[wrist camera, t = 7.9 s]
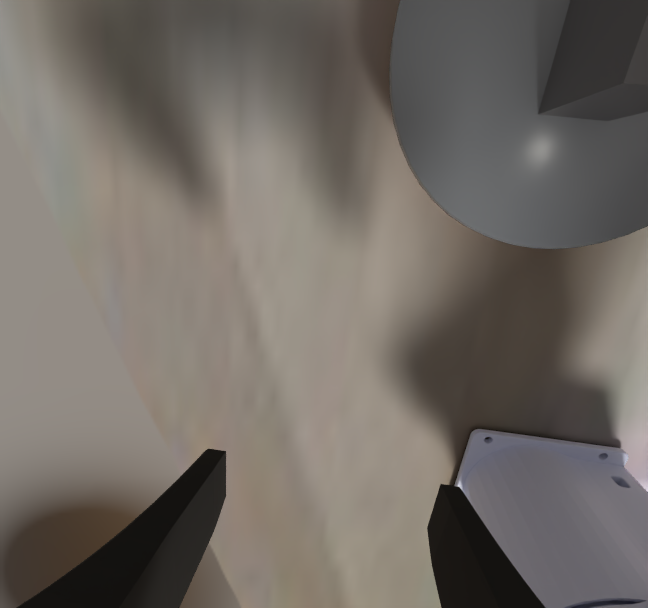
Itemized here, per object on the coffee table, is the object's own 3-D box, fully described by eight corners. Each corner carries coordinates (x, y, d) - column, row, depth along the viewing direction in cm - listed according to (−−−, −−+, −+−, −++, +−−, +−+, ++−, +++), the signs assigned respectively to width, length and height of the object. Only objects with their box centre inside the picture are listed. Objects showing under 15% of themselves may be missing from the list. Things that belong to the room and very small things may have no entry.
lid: (916, -210, 9) (1462, -590, 5) (686, 262, 14) (847, 301, 9) (429, -231, 10) (492, -584, 5) (365, 227, 14) (370, 247, 10)
